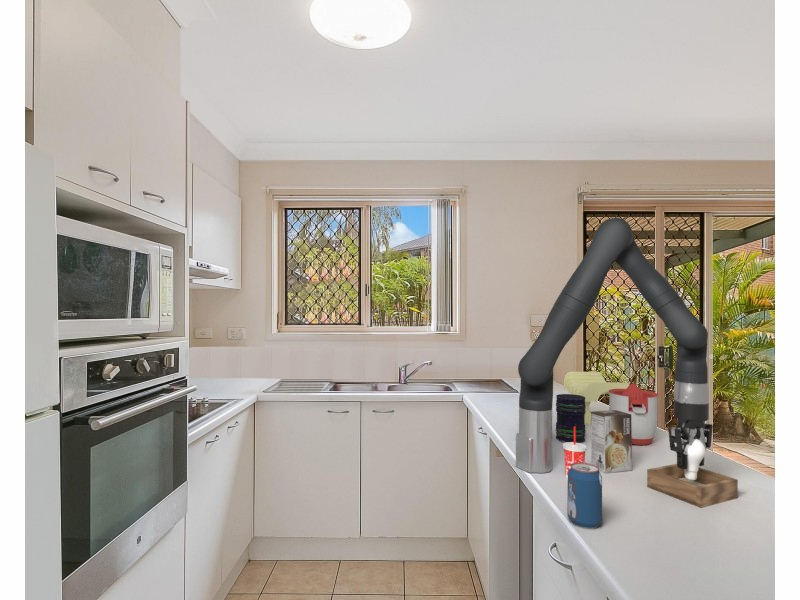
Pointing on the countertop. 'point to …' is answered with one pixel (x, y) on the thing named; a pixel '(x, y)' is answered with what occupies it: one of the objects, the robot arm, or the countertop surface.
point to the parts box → (693, 485)
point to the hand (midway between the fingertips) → (690, 466)
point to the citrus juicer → (637, 411)
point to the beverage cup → (573, 453)
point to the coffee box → (611, 441)
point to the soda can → (584, 495)
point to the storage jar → (570, 417)
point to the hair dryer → (589, 387)
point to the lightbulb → (694, 458)
